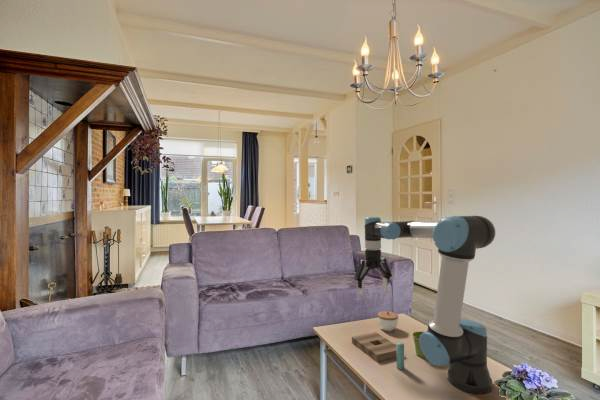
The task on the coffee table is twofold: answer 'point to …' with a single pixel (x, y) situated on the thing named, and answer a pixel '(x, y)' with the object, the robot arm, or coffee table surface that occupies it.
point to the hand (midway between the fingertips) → (373, 293)
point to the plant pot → (417, 346)
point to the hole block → (375, 346)
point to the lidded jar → (388, 320)
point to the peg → (400, 356)
